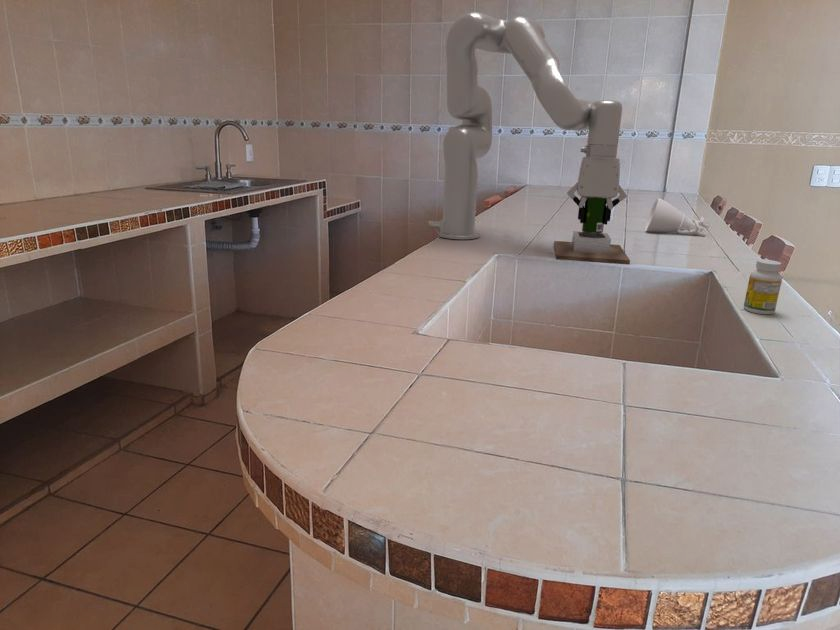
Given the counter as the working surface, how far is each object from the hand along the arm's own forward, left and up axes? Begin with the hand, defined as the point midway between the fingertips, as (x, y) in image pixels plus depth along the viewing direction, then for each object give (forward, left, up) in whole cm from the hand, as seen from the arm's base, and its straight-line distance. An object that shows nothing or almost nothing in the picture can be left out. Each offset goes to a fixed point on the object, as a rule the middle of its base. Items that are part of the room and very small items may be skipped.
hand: (593, 222), depth 158 cm
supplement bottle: (+28, -44, -9) cm, 53 cm away
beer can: (0, 0, -3) cm, 3 cm away
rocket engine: (+30, +41, -9) cm, 52 cm away
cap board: (0, 0, -8) cm, 8 cm away
